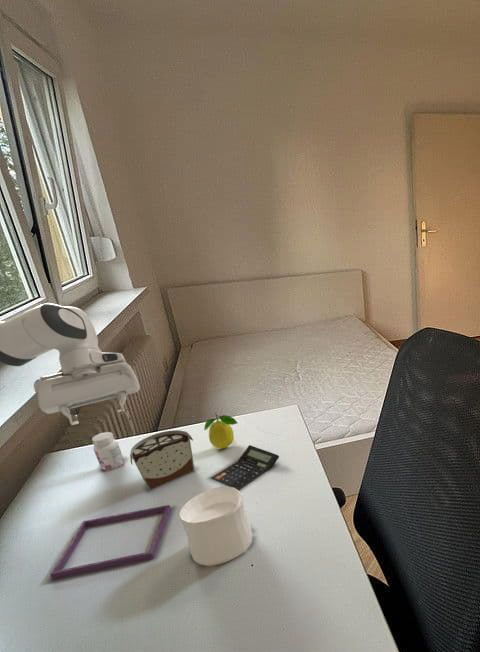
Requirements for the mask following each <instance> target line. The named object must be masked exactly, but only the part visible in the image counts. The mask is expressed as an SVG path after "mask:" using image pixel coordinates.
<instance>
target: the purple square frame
mask: <svg viewBox="0 0 480 652" xmlns="http://www.w3.org/2000/svg"><path fill="white" fill-rule="evenodd" d="M171 511H172V507H171V505H170V504H166V505H160V506H156V507H150V508H144V509H139V510H134V511H129V512H124V513H119V514H114V515H109V516H103V517H99V518H98V517H97V518H93V519H87V520H83V521H82V522H81V524H80V526H79V527H78V529H77V530H76V532H75V534H74V535H73V537H72V538H71V540H70V541H69V543H68V545H67V546H66V548H65V549H64V551H63V552H62V554H61V556H60V558H59V559H58V561H57V562H56V563H55V566H54V567H53V568H52V570H51V572H50V574H49V576H50V578H51V580H52V581H54V580H58V579H63V578H68V577H72V576H77V575H82V574H86V573H92V572H97V571H100V570H106V569H111V568H115V567H116V568H117V567H120V566H125V565H129V564H130V565H131V564H134V563H139V562H144V561H148V560H149V561H150V560H153V559H154V558H155V555H156V552H157V550H158V548H159V545H160V542H161V539H162V535H163V534H164V530H165V528H166V525H167V522H168V519H169V517H170V514H171ZM158 514H159V515H160V514H162V516H161V518H160V521H159V523H158V527H157V528H156V531H155V534H154V537H153V539H152V542H151V545H150V547H149V550H148V551H145V552H141V553H135V554H130V555H126V556H122V557H117V558H111V559H107V560H102V561H97V562H92V563H88V564H84V565H78V566H74V567H69V568H65V566H66V564H67V562H68V560H69V559H70V557H71V555H72V554H73V552H74V550H75V549H76V547H77V546H78V544H79V542H80V541H81V539H82V538H83V536H84V534H85V532H86V531H87V529H88V528H91V527H96V526H101V525H107V524H113V523H118V522H122V521H127V520H132V519H133V520H134V519H137V518H142V517H143V518H144V517H148V516H153V515H158Z"/></svg>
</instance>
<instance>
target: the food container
mask: <svg viewBox="0 0 480 652" xmlns="http://www.w3.org/2000/svg"><path fill="white" fill-rule="evenodd" d="M193 441H194V439H193V437H192V436H191V434H190V433H189V432H187V431H185V430H179V429H176V430H175V429H174V430H165V431H162V432H157V433H154V434H151V435H149V436H147V437H144V438H142V439H141V440H139V441H138V442H137V443H135V444H134V445H133V446H132V448H131V450H130V454H129V456H130V457H129V459H130V465H133V461H134V465H135V466H136V468H137V470H138V472H139V474H140V476H141V477H142V480H143V482H144V483H145V486H146V487H147V489H148V491H151V490H152V489H155V488H158V487H159V486H162V485H164V484H166V483H169V482H171V481H174V480H175V479H177V478H178V479H179V478H180V477H183V476H185V475H186V474H189V473H191V472H194V471H196V469H195V463H194V457H193V450H192V444H191V442H193Z"/></svg>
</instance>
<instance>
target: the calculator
mask: <svg viewBox="0 0 480 652" xmlns="http://www.w3.org/2000/svg"><path fill="white" fill-rule="evenodd" d="M279 458H280V456H279V454H276V453H273V452H271V451H268V450H265V449H262V448H259V447H257V446H253V445H251V444H249V445H248V446H247V447H246V449H245V450H244V452H243V453H242V455H240V457H239V458H238V460H237V461H236V462H234V463H232V464H230V465H229V466H227V467H226V468H224V469H222V470H221V471H219V472H217V473H216V474H215V475H213V476H211V477H210V480H214V481H215V482H217V483H220V484H222V485H225V486H226V487H233V488H235V489H237V490H238V491H240V490H242V489H244V488H245V487H246V486H248V485H249V484H250V483H252V482H254V481H255V480H257V479H258V478H260V477H261V476H263V475H264V474H266V473H267V472H268V471H270V470H271V469H273V467H274V466H275V464H276V462H278V460H279Z"/></svg>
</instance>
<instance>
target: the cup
mask: <svg viewBox="0 0 480 652" xmlns="http://www.w3.org/2000/svg"><path fill="white" fill-rule="evenodd" d="M178 519H179V522H180V523H181V525H182V527H183V529H184V531H185V533H186V538H187V544H188V548H189V552H190V554H191V556H192V560H193V561H194V562H195V563H197V564H198V565H200V566H206V567H210V566H212V567H213V566H216V565H217V566H218V565H221V564H224V563H226V562H229V561H231V560H233V559H235V558H237V557H240V555H242V554H243V553H245V552H246V551H247V550H248V549H249V548H250V546H251V544H252V542H253V530H252V527H251V523H250V520H249V517H248V514H247V512H246V509H245V506H244V498H243V495H242V493H241V491H240V490H239V491H238V490H237V489H235V488H233V487H229V486H218V487H215V488H211V489H208V490H205V491H203V492H200V493H199V494H197V495H195V496H193V497H192V498H191V499H190V500H188V501H187V502H186V503H184V505H183V506H182V507H181V509H180V512H179V514H178Z"/></svg>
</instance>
